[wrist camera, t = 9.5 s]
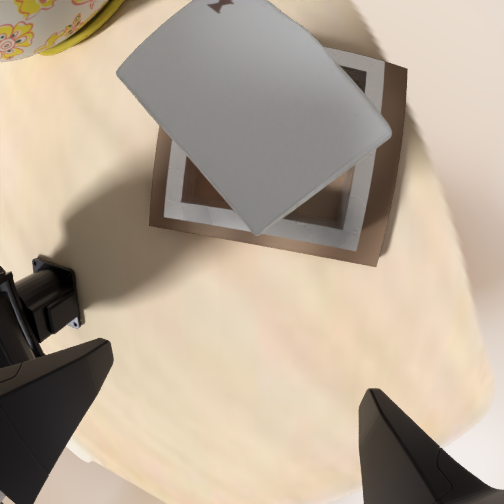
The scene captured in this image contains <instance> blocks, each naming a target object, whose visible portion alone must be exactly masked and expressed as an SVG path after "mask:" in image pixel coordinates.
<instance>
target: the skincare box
mask: <svg viewBox="0 0 504 504" xmlns="http://www.w3.org/2000/svg"><path fill="white" fill-rule="evenodd" d="M116 75H117V76H118V77H119V79H120V80H121V81H122V82H123V83H124V84H125V86H126V87H127V88H128V89H129V90H130V91H131V93H132V94H133V95H134V96H135V97H136V98H137V100H138V101H139V102H140V103H141V105H142V106H143V107H144V108H145V109H146V110H147V112H148V113H149V114H150V115H151V116H152V117H153V119H154V120H155V121H156V122H157V123H158V124H159V125H160V127H161V128H162V129H163V130H164V131H165V132H166V133H167V134H168V135H169V136H170V138H171V139H172V140H173V141H174V142H175V143H176V144H177V145H178V146H179V148H180V149H181V150H182V151H183V152H184V153H185V154H186V155H187V156H188V158H189V159H190V160H191V161H192V162H193V163H194V164H195V166H196V167H197V168H198V169H199V170H200V171H201V172H202V174H203V175H204V176H205V177H206V178H207V180H208V181H209V182H210V183H211V184H212V185H213V187H214V188H215V189H216V190H217V191H218V193H219V194H220V195H221V196H222V197H223V198H224V199H225V201H226V202H227V203H228V204H229V205H230V206H231V208H232V209H233V210H234V211H235V212H236V214H237V215H238V216H239V217H240V218H241V219H242V221H243V222H244V223H245V224H246V225H247V227H248V228H249V229H250V231H251V232H252V233H253V234H254V235H256V236H258V235H261V234H262V233H263V232H265V231H266V230H268V229H269V228H270V227H272V226H273V225H274V224H276V223H277V222H278V221H280V220H281V219H282V218H284V217H285V216H287V215H288V214H289V213H291V212H292V211H293V210H295V209H296V208H297V207H299V206H300V205H302V204H303V203H304V202H306V201H307V200H308V199H310V198H311V197H312V196H314V195H315V194H316V193H318V192H319V191H320V190H322V189H323V188H324V187H326V186H327V185H328V184H330V183H331V182H332V181H334V180H335V179H336V178H338V177H339V176H340V175H342V174H343V173H344V172H346V171H347V170H349V169H350V168H351V167H353V166H354V165H355V164H357V163H358V162H359V161H361V160H362V159H363V158H365V157H366V156H367V155H369V154H370V153H371V152H373V151H374V150H375V149H376V148H378V147H379V146H380V145H382V144H383V143H384V142H386V141H387V140H388V139H389V138H391V135H392V130H391V128H390V126H389V124H388V123H387V121H386V120H385V119H384V117H383V116H382V115H381V114H380V112H379V111H378V110H377V108H376V107H375V106H374V105H373V103H372V102H371V101H370V100H369V99H368V97H367V96H366V95H365V94H364V93H363V91H362V90H361V89H360V88H359V87H358V86H357V84H356V83H355V82H354V81H353V80H352V79H351V77H350V76H349V75H348V74H347V73H346V72H345V71H344V70H343V69H342V68H341V67H340V66H339V65H338V63H337V62H336V61H335V60H334V59H333V58H332V57H331V55H330V54H329V53H328V52H327V51H326V49H325V48H324V47H323V46H322V45H321V44H320V42H319V41H318V40H317V39H316V38H315V37H314V36H313V35H311V34H310V33H309V32H308V31H307V30H306V29H305V28H304V27H303V26H301V25H300V24H298V23H297V22H295V21H294V20H292V19H291V18H290V17H288V16H287V15H286V14H284V13H283V12H282V11H280V10H279V9H278V8H277V7H275V6H274V5H273V4H272V3H270V2H269V1H267V0H193V1H191V2H190V3H189V4H187V5H186V6H185V7H183V8H182V9H181V10H180V11H178V12H177V13H176V14H175V15H173V16H172V17H171V18H170V19H168V20H167V21H166V22H165V23H164V24H162V25H161V26H160V27H159V28H158V29H157V30H156V31H155V32H153V33H152V34H151V35H150V36H149V37H148V38H147V39H146V40H145V41H144V42H143V43H142V44H140V45H139V46H138V47H137V48H136V49H135V51H134V52H133V53H132V54H131V55H130V56H129V57H128V58H127V59H126V60H125V61H124V62H123V64H122V65H121V66H120V67H119V68H118V70H117V71H116Z"/></svg>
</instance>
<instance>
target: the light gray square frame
mask: <svg viewBox="0 0 504 504" xmlns="http://www.w3.org/2000/svg"><path fill="white" fill-rule="evenodd" d="M324 48H325V49H326V51H327V52H328V53H329V54H330V55H331V57H332V58H333V59H334V60H335V61H336V62H337V63H338V65H339V66H340V67H341V68H342V69H343V70H344V71H345V72H346V73H347V74H348V75H349V76H350V77H351V79H352V80H353V81H354V82H355V83H356V84H357V86H358V87H359V88H360V89H361V90H362V91H363V93H364V94H365V95H366V96H367V97H368V99H369V100H370V101H371V102H372V103H373V105H374V106H375V107H376V108H377V110H378V111H379V112H380V114H381V106H382V95H383V83H384V67H385V62H384V61H381V60H377V59H374V58H370V57H367V56H363V55H359V54H355V53H351V52H346V51H342V50H337V49H332V48H327V47H324ZM375 154H376V149H375V150H374V151H373V152H371V153H370V154H369V155H367V156H366V157H365V158H363V159H362V160H361V161H359V162H358V163H357V164H355V165H354V166H353V167H351V168H350V169H349V170H347V171H346V172H344V178H343V183H342V189H341V194H340V200H339V205H338V210H337V215H336V220H335V221H334V220H329V219H324V218H319V217H314V216H309V215H303V214H298V213H293V212H291V213H289V214H288V215H287V216H285V217H284V218H282V219H281V220H280V221H278V222H277V223H276V224H274V225H273V226H272V227H270V228H269V229H268V230H266V231H265V232H263V233H262V234H266V235H272V236H277V237H283V238H288V239H294V240H299V241H304V242H310V243H315V244H320V245H326V246H331V247H336V248H341V249H346V250H352V251H356V250H357V246H358V242H359V238H360V233H361V229H362V224H363V220H364V215H365V210H366V205H367V200H368V195H369V190H370V184H371V179H372V173H373V167H374V160H375ZM200 177H201V171H200V170H199V169H198V168H197V167H196V166H195V164H194V163H193V162H192V161H191V160H190V159H189V158H188V156H187V155H186V154H185V153H184V152H183V151H182V150H181V149H180V148H179V146H178V145H177V144H176V143H175V142H174V141H173V140H172V145H171V152H170V160H169V168H168V177H167V187H166V197H165V208H164V217H166V218H173V219H179V220H185V221H191V222H197V223H203V224H209V225H215V226H221V227H226V228H232V229H238V230H244V231H249V232H251V231H250V229H249V228H248V227H247V225H246V224H245V223H244V222H243V221H242V219H241V218H240V217H239V216H238V215H237V214H236V212H235V211H234V210H233V209H232V208H231V206H230V205H229V204H228V203H227V202H226V201H221V200H214V199H208V198H201V197H198V193H199V185H200Z"/></svg>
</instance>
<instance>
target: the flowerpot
mask: <svg viewBox="0 0 504 504" xmlns="http://www.w3.org/2000/svg"><path fill="white" fill-rule="evenodd" d="M124 1H125V0H0V62H8V61H14V60H19V59H23V58H27V57H30V56H33V55H35V54H40V55H47V56H48V55H54V54H57V53H60V52H62V51H64V50H66V49H68V48H70V47H72V46H74V45H76V44H78V43H79V42H81V41H83V40H84V39H86V38H87V37H89V36H90V35H91V34H93V33H94V32H95V31H96V30H98V29H99V28H100V27H101V26H102V25H103V24H104V23H105V22H106V21H107V20H108V19H109V18H110V17H111V16H112V15H113V14H114V13H115V12H116V11H117V9H118V8H119V7H120V6H121V5H122V3H123V2H124Z"/></svg>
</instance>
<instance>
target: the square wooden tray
mask: <svg viewBox="0 0 504 504" xmlns="http://www.w3.org/2000/svg"><path fill="white" fill-rule="evenodd" d="M327 48H328V47H327ZM332 49H333V48H332ZM337 50H338V49H337ZM342 51H343V50H342ZM346 52H347V51H346ZM351 53H352V52H351ZM355 54H356V53H355ZM359 55H360V54H359ZM363 56H364V55H363ZM370 58H371V57H370ZM374 59H375V58H374ZM377 60H378V59H377ZM381 61H382V60H381ZM384 62H385V61H384ZM406 90H407V69H406V68H403V67H400V66H397V65H394V64H391V63H388V62H385V67H384V83H383V95H382V106H381V115H382V116H383V117H384V119H385V120H386V121H387V123H388V124H389V126H390V128H391V130H392V135H391V138H389V139H388V140H387V141H386V142H384V143H383V144H382V145H380V146H379V147H378V148H376V154H375V160H374V167H373V173H372V179H371V184H370V190H369V195H368V200H367V205H366V210H365V215H364V220H363V224H362V229H361V233H360V238H359V242H358V246H357V250H356V251H352V250H346V249H341V248H336V247H331V246H326V245H320V244H315V243H310V242H304V241H299V240H294V239H288V238H283V237H277V236H272V235H266V234H261V235H258V236H256V235H254V234H253V233H252V232H249V231H244V230H238V229H232V228H226V227H221V226H215V225H209V224H203V223H197V222H191V221H185V220H179V219H173V218H166V217H164V208H165V197H166V187H167V177H168V168H169V160H170V152H171V145H172V139H171V138H170V136H169V135H168V134H167V133H166V132H165V131H164V130H163V129H162V128H161V127H160V126H159V132H158V139H157V147H156V155H155V163H154V172H153V182H152V192H151V204H150V219H149V226H153V227H159V228H165V229H171V230H176V231H182V232H188V233H193V234H199V235H205V236H210V237H216V238H221V239H227V240H233V241H238V242H244V243H249V244H255V245H260V246H266V247H271V248H277V249H282V250H287V251H293V252H298V253H304V254H309V255H314V256H320V257H325V258H331V259H336V260H341V261H346V262H352V263H357V264H362V265H368V266H373V267H376V266H377V262H378V259H379V255H380V251H381V247H382V243H383V239H384V235H385V231H386V227H387V222H388V218H389V213H390V208H391V203H392V198H393V193H394V188H395V182H396V176H397V170H398V164H399V158H400V151H401V143H402V135H403V126H404V116H405V105H406ZM343 178H344V173H343V174H342V175H340V176H339V177H338V178H336V179H335V180H334V181H332V182H331V183H330V184H328V185H327V186H326V187H324V188H323V189H322V190H320V191H319V192H318V193H316V194H315V195H314V196H312V197H311V198H310V199H308V200H307V201H306V202H304V203H303V204H302V205H300V206H299V207H297V208H296V209H295V210H293V211H292V212H293V213H298V214H303V215H309V216H314V217H319V218H324V219H329V220H334V221H335V220H336V215H337V210H338V205H339V200H340V194H341V189H342V183H343ZM198 197H201V198H208V199H214V200H221V201H225V199H224V198H223V197H222V196H221V195H220V194H219V193H218V191H217V190H216V189H215V188H214V187H213V185H212V184H211V183H210V182H209V181H208V180H207V178H206V177H205V176H204V175H203V174H202V172H201V177H200V185H199V193H198Z"/></svg>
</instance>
